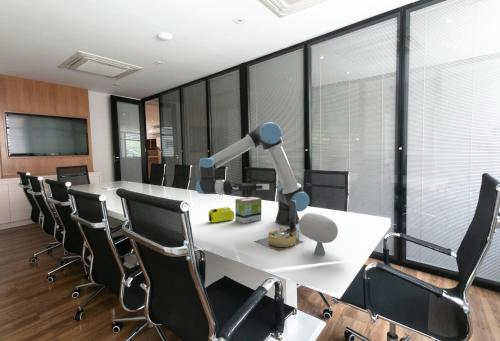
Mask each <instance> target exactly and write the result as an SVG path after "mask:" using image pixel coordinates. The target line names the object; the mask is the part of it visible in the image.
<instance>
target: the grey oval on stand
mask: <svg viewBox="0 0 500 341" xmlns="http://www.w3.org/2000/svg"><path fill="white" fill-rule="evenodd" d="M298 228H299V229H298V230H299V233H301V235H303V236H304V237H306V238H308V239H310V240H312V241H314V242H316V245H315V248H314V251H313V254H314V255H317V256H325V255H326V251H325V247H324V245H323V244H327V243H332V242H333V241H335V240H336V238H337V236H338V232H339V229H338V225H337V223H335V221H334V220H332V218H329V217H327V216H325V215H322V214H319V213H315V212H314V213H313V212H311V213H310V212H307V213H305V214H303V215H302V216H301V218H299V220H298Z"/></svg>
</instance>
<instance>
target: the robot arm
mask: <svg viewBox="0 0 500 341" xmlns="http://www.w3.org/2000/svg"><path fill="white" fill-rule="evenodd" d="M283 141H284V140H283V138H282V129H281V126H279V124H277V123H275V122H271V121H270V122H265V123H263V124H260V125H259V126H257V127H255V128H254V129H253V130H251V131H250V132H248V133H247V134H246V135H245V137H243V138H242V139H240V140H238V141H236V142H234V143H232V144H231V145H229V146H227V147H226V148H224V149H222V150H220V151H219V152H217V153H215V154H213V155H211V156H210V157H203V158H202V157H200V159H199V163H198V171H199V177H200V178H199V180H197V181H196V183H195V190H196V192H197V194H201V195H219V196H221V195H224V194H225V195H232V194H234V191H235V192H240V191H241V192H242V191H254V192H256V191H258V190H259V191H261V190H265V191H267V190H270V183H257V182H255V183H249V182H248V183H246V182H236V183H235V182H234V181H233V180H232V179H215V170H216V169H218V168H220V167H222V166H223V165H225V164H226V163H228V162H230V161H231V160H233V159H235V158H237V157H238V156H240V155H242V154H244V153H246V152H247V151H249V150H251V149H256V148H258V147H262V149H263V151H265V152H267V154H268V156H269V158H270V161H271V163H272V166H273V167H274V170H275V172H276V174H277V178H278V179H279V182H280V184H281V186H279V187H278V188H277V189H278V190H277V194H278V196H277V200H278V201H277V204H278V210H277V213H276V216H275V223H276V224H280V225H285V226H290V200H296V225H297V224H298V225H299V223H298V220H300V217H299V213H298V212H303V211H305V210H306V209H307V208H308V207H309V204H310V196H309V195H308V194H307V193H306V192H305V191H304V189H303V187H302V185H301V183H298V182H297V179H296V177H295V175H294V172H293V169H292V167H291V165H290V163H289V160H288V157H287V155H286V153H285V151H284V147H283V146H282V145H283V143H284V142H283Z"/></svg>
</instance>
